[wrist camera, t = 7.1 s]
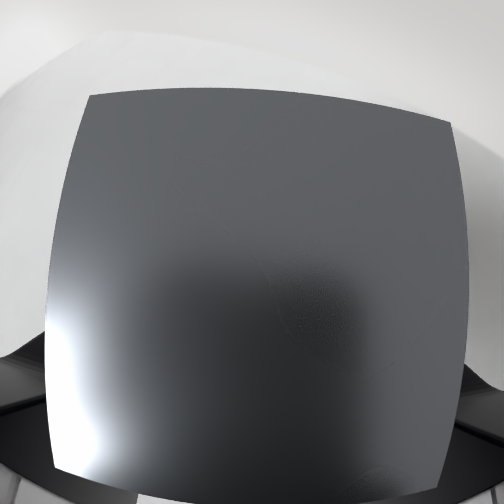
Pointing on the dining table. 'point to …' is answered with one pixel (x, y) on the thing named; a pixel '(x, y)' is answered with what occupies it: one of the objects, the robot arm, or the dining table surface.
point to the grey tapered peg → (257, 298)
